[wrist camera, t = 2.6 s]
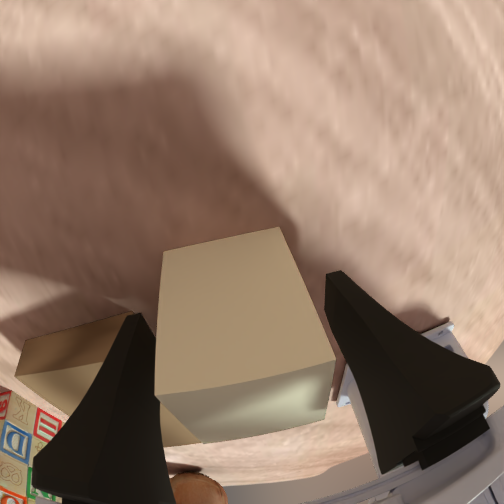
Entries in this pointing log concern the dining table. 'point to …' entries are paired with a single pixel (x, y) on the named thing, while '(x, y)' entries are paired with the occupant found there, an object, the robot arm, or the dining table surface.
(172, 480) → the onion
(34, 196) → the dining table surface
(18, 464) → the stack of blocks
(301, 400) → the cream block
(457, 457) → the robot arm
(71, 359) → the tan block
